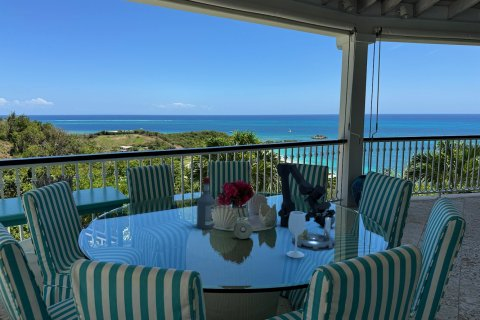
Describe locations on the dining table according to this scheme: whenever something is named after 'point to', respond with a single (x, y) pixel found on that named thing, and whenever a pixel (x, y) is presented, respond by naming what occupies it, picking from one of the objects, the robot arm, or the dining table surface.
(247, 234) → the stone disc
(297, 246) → the base mat
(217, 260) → the dining table surface
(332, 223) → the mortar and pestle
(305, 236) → the link block
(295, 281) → the dining table surface
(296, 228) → the wineglass
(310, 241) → the sprocket
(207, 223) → the liquor
